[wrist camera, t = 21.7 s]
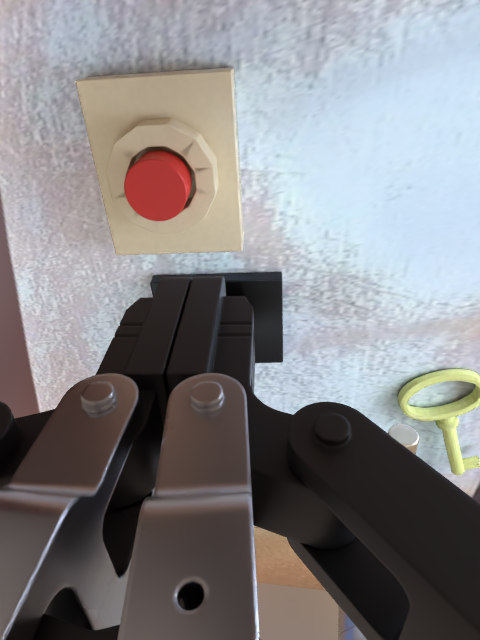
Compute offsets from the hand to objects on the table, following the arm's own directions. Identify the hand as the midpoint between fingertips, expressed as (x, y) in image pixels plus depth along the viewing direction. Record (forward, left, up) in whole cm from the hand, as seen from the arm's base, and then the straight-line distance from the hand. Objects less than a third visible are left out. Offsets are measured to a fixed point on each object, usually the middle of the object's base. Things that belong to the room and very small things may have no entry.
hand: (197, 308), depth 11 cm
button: (+1, -5, -18) cm, 18 cm away
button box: (+1, -5, -21) cm, 22 cm away
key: (+28, +14, -21) cm, 38 cm away
